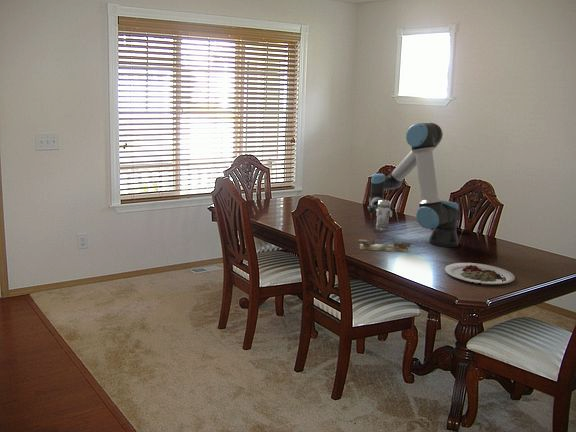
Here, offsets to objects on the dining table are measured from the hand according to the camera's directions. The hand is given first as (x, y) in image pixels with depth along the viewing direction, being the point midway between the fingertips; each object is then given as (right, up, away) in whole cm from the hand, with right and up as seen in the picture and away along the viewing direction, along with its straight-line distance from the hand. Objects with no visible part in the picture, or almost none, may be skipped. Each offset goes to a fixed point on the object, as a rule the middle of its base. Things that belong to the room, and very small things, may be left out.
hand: (384, 214), depth 310 cm
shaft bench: (0, -18, +4) cm, 18 cm away
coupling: (0, -8, +7) cm, 10 cm away
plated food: (+37, -28, -35) cm, 58 cm away
